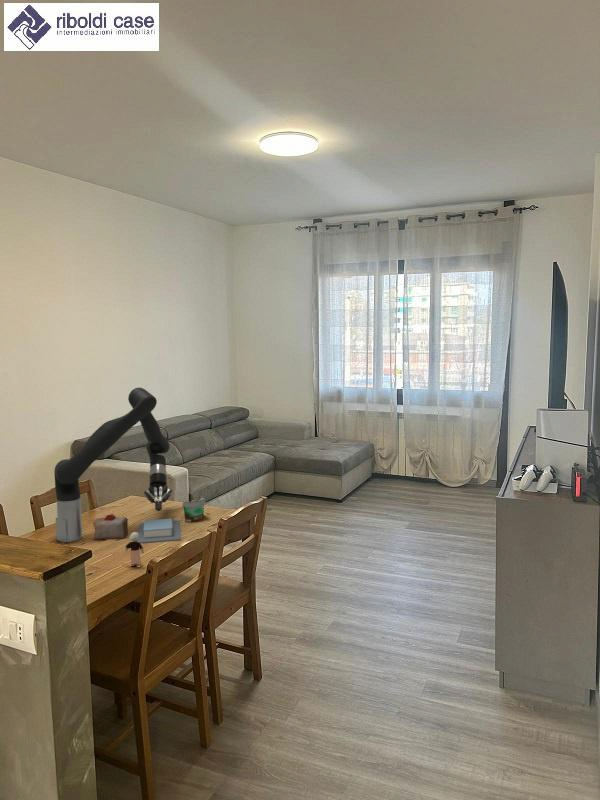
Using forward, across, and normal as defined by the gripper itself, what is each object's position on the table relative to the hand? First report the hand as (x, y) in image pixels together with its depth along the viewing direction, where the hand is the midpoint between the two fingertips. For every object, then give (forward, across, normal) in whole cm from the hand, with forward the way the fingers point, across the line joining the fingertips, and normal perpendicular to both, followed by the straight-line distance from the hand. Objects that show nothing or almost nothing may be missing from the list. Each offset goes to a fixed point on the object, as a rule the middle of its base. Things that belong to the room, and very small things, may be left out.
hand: (158, 510), depth 258 cm
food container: (+1, -17, -11) cm, 20 cm away
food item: (+11, +20, -2) cm, 22 cm away
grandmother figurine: (+35, +8, +23) cm, 43 cm away
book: (+4, 0, -5) cm, 6 cm away
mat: (+9, 0, -3) cm, 10 cm away
